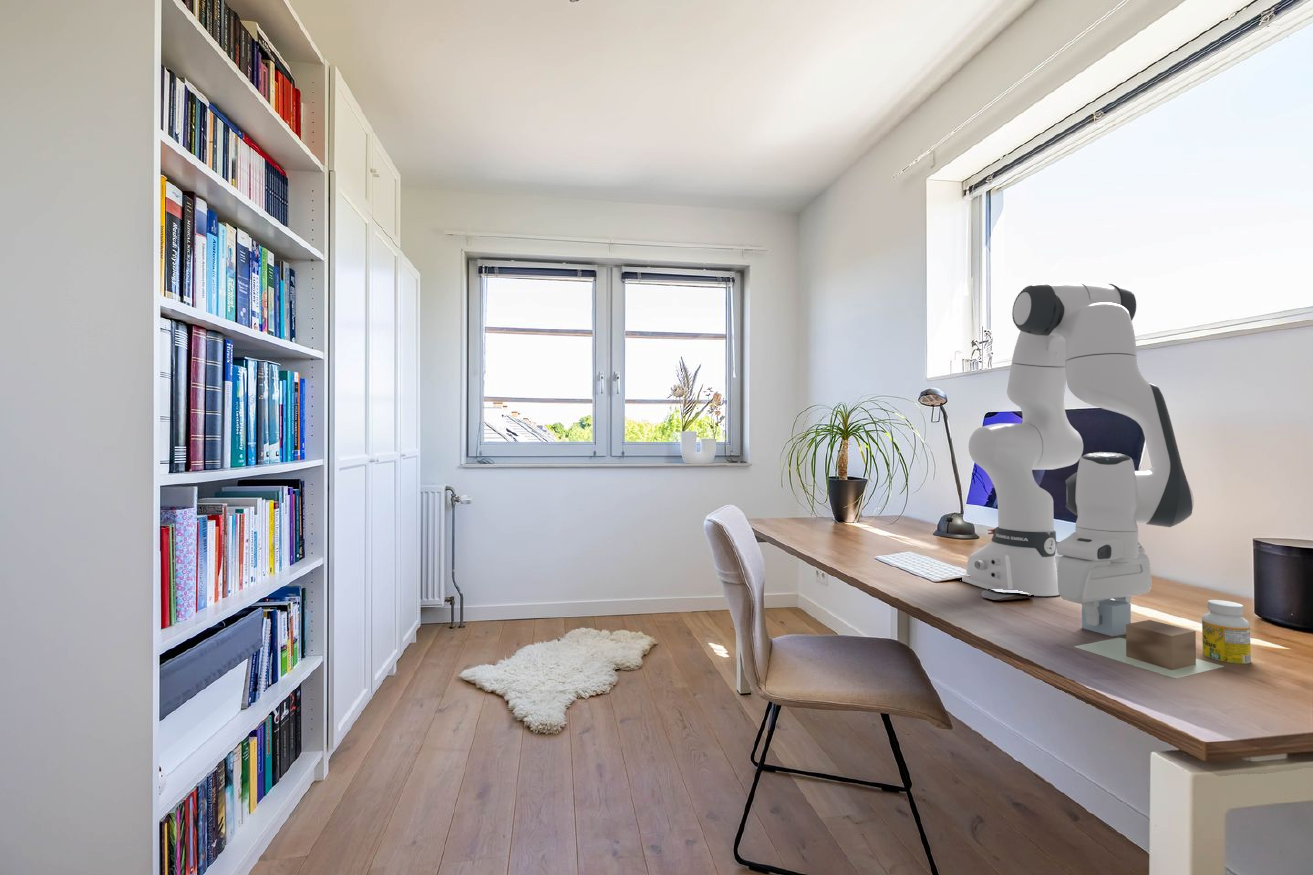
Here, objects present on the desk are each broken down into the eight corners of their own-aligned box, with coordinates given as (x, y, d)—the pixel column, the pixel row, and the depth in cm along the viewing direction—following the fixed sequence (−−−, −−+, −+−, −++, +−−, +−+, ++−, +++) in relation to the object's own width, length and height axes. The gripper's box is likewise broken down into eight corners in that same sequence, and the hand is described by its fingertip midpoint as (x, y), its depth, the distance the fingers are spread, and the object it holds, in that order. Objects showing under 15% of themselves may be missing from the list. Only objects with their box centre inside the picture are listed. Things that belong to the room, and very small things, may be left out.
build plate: (1073, 653, 96) (1073, 646, 96) (1120, 644, 100) (1120, 637, 100) (1176, 686, 83) (1176, 678, 83) (1224, 674, 87) (1224, 666, 87)
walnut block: (1126, 656, 91) (1125, 624, 91) (1149, 651, 94) (1149, 619, 94) (1171, 670, 86) (1171, 635, 86) (1195, 664, 88) (1195, 630, 88)
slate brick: (1082, 633, 106) (1081, 599, 106) (1100, 629, 107) (1100, 596, 107) (1112, 641, 101) (1112, 606, 101) (1130, 638, 103) (1130, 604, 103)
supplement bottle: (1258, 673, 88) (1258, 609, 88) (1212, 668, 90) (1212, 605, 90) (1238, 661, 93) (1238, 600, 93) (1195, 656, 95) (1195, 597, 95)
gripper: (1123, 538, 111) (1123, 611, 111) (1049, 545, 103) (1049, 623, 103) (1162, 543, 105) (1163, 620, 105) (1087, 551, 97) (1087, 634, 97)
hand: (1106, 622), depth 104 cm, fingers closed on slate brick, 5 cm apart
